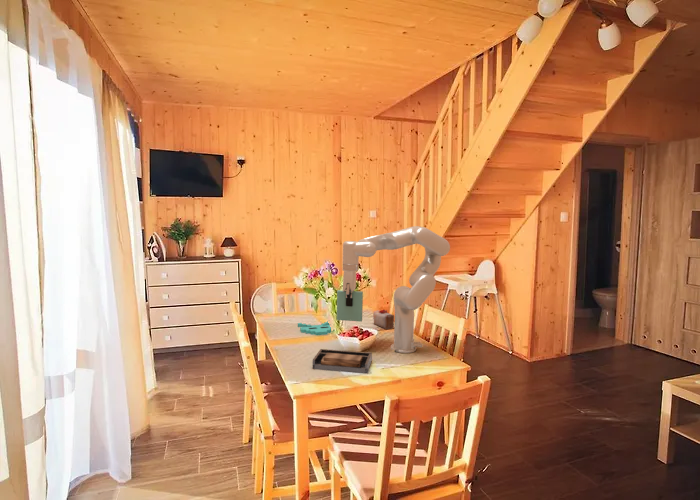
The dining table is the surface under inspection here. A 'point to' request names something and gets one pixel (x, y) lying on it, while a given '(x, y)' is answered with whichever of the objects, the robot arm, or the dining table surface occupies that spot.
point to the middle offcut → (338, 363)
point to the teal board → (347, 311)
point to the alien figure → (315, 328)
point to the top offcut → (343, 358)
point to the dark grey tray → (363, 369)
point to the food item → (383, 319)
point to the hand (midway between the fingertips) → (349, 305)
